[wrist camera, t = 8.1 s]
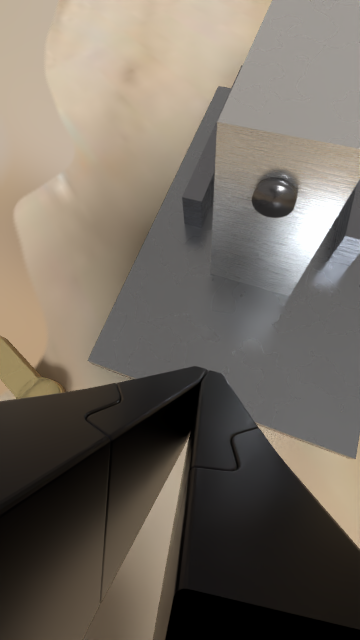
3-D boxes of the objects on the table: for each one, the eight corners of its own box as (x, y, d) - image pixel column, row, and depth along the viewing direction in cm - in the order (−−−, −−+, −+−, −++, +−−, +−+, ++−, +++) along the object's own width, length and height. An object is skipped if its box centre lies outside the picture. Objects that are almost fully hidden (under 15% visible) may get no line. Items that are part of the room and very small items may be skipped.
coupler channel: (348, 458, 19) (383, 462, 15) (92, 363, 23) (70, 348, 19) (403, 128, 29) (432, 81, 25) (218, 96, 32) (220, 51, 28)
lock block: (287, 302, 22) (373, 161, 11) (208, 279, 23) (213, 130, 12) (329, 149, 27) (417, -54, 16) (261, 136, 28) (300, -62, 17)
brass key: (75, 399, 22) (68, 397, 21) (42, 433, 21) (33, 433, 20) (13, 333, 24) (4, 328, 23) (-19, 362, 23) (-30, 358, 22)
